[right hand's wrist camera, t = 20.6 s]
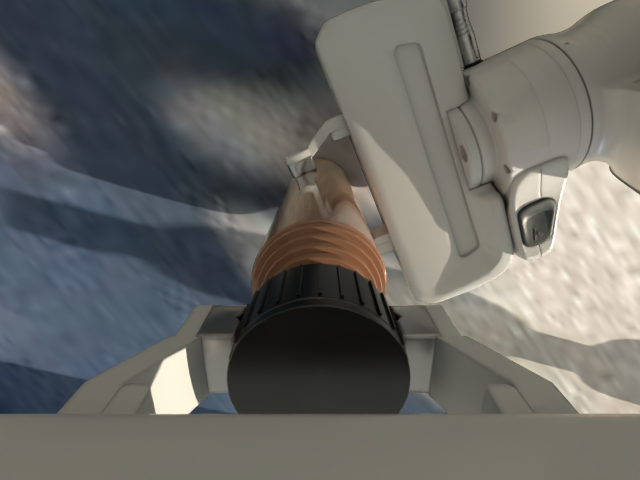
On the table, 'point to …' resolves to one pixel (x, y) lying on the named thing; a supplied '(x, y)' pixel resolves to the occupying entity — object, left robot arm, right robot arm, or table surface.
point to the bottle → (319, 229)
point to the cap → (318, 347)
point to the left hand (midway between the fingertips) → (308, 209)
